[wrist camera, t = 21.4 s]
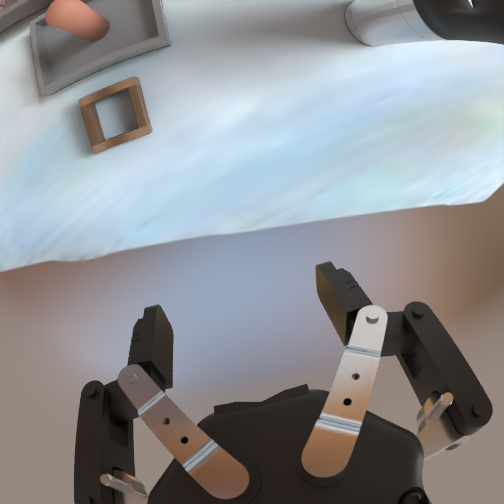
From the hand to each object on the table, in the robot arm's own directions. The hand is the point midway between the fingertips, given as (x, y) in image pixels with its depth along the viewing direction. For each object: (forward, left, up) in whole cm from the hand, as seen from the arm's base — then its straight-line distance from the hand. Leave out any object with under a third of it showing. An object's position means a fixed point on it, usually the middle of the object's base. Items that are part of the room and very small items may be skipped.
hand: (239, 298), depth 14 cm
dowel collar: (+12, -11, -32) cm, 36 cm away
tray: (+12, -26, -32) cm, 43 cm away
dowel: (+12, -26, -31) cm, 42 cm away
